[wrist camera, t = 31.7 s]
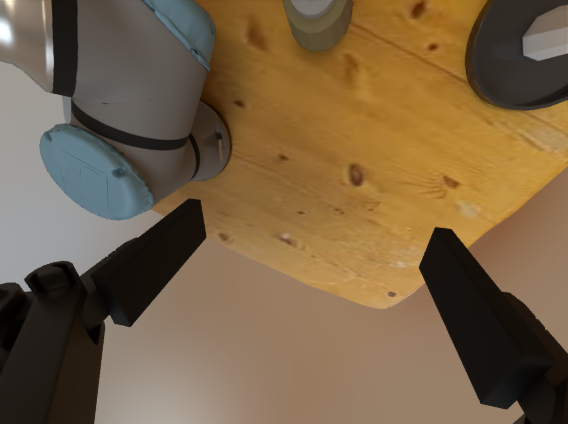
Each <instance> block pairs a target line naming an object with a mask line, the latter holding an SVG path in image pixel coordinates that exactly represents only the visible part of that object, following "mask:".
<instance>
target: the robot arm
mask: <svg viewBox="0 0 568 424" xmlns="http://www.w3.org/2000/svg"><path fill="white" fill-rule="evenodd" d="M215 39H216V30H215V25H214V23H213V20H212V19H211V17H210V15H209V14H208V13H207V12H206V11H205V10H204V9H203V8H202V7H201V6H200V5H199V4H198V3H196V2H195V1H194V0H0V61H1V62H5V63H9V64H13V65H14V66H16V67H18V68H19V69H21V70H22V71H23V72H25V73H26V74H27V75H28V76H29V77H30V78H31V79H32V80H33V81H35V82H36V83H37V84H38V85H39V86H40V87H41V88H42V89H43V90H45V91H46V92H49V93H53V94H58V95H63V96H67V97H71V123H70V124H58V125H56V126H54V128H52V129H50V130H49V131H46V132H45V133H44V134H43V136H42V137H41V140H40V153H41V157H42V160H43V163H44V165H45V167H46V169H47V171H48V172H49V174H50V176H51V177H52V179H53V180H54V181H55V182H56V184H57V185H58V186H59V187H60V188H61V189H62V190H63V191H64V193H65V194H66V195H67V196H69V197H70V198H71V199H72V200H73V201H74V202H76V203H77V204H78V205H80V206H81V207H83V208H84V209H86V210H88V211H89V212H91V213H93V214H95V215H98V216H100V217H103V218H106V219H111V220H123V219H124V220H125V219H130V218H133V217H134V216H137V215H139V214H141V213H143V212H145V211H148V210H150V209H151V208H152V207H153V206H154V205H155V204H156V203H158V202H159V201H161V200H162V199H164V198H165V197H167V196H168V195H170V194H171V193H173V192H174V191H176V190H177V189H179V188H180V187H182V186H183V185H185V184H186V183H188V182H190V181H203V180H207V179H210V178H213V177H214V176H216V175H217V174H219V173H220V172H221V171H222V170H223V169H224V168H225V167H226V165H227V164H228V162H229V159H230V156H231V150H232V144H231V137H230V133H229V130H228V127H227V125H226V123H225V121H224V120H223V118H222V117H221V115H220V114H219V113H218V112H217V111H216V110H215V109H214V108H213V107H212V106H211V105H209V104H208V103H206V102H205V101H203V100H201V99H200V97H201V94H202V90H203V87H204V84H205V80H206V77H207V73H208V71H209V72H210V69H211V68H210V60H211V56H212V52H213V47H214V43H215ZM205 239H206V231H205V224H204V218H203V212H202V206H201V200H198V199H188V200H186V201H185V202H184V203H182V204H181V205H180V206H178V207H177V208H176V209H175V210H173V211H172V212H171V213H169V214H168V215H167V216H166V217H164V218H163V219H162V220H160V221H159V222H158V223H157V224H155V225H154V226H153V227H151V228H150V229H149V230H147V231H146V232H145V233H144V234H142V235H141V236H140V237H138V238H134V239H132V240H130V241H127V242H125V243H124V244H123V245H121V246H120V247H118V248H117V249H116V251H113V252H112V253H110V254H109V255H108V257H105V258H104V259H102V260H101V261H100V262H98V263H97V264H96V265H95V266H93V267H92V268H90V269H89V270H88V271H87V272H85V273H84V274H82V275H81V276H80V277H79V275H78V273H77V271H76V269H75V268H74V266H73V264H72V263H71V262H68V261H59V262H53V263H50V264H47V265H44V266H42V267H40V268H38V269H36V270H34V271H33V272H31V273H30V274H28V276H27V277H26V278H25V279H24V280H25V282H26V283H27V285H28V286H29V288H30V289H31V292H24V291H23V289H22V288H21V287H20V285H19V284H17V283H4V284H0V424H94V420H95V412H96V403H97V394H98V385H99V377H100V369H101V360H102V351H103V343H104V333H105V323H104V320H105V319H106V318H107V316H108V315H110V316H111V318H112V320H113V322H114V324H118V325H123V326H127V327H131V326H132V325H133V323H134V322H135V321H136V320H137V319H138V318H139V316H140V315H141V314H142V313H143V312H144V311H145V309H146V308H147V307H148V306H149V305H150V303H151V302H152V301H153V300H154V299H155V298H156V296H157V295H158V294H159V293H160V292H161V290H162V289H163V288H164V287H165V286H166V285H167V283H168V282H169V281H170V280H171V278H173V276H174V275H175V274H176V273H177V272H178V270H179V269H180V268H181V267H182V266H183V265H184V263H185V262H186V261H187V260H188V259H189V257H190V256H191V255H192V254H193V253H194V252H195V250H196V249H197V248H198V247H199V246H200V244H201V243H202V242H203V241H204V240H205ZM419 269H420V271H421V274H422V276H423V278H424V280H425V282H426V285H427V287H428V289H429V291H430V293H431V295H432V298H433V300H434V302H435V304H436V307H437V309H438V311H439V313H440V315H441V317H442V320H443V322H444V324H445V326H446V329H447V331H448V333H449V335H450V337H451V339H452V342H453V344H454V346H455V348H456V350H457V352H458V355H459V357H460V359H461V361H462V364H463V366H464V368H465V370H466V372H467V375H468V377H469V379H470V381H471V383H472V385H473V388H474V390H475V392H476V394H477V397H478V399H479V401H480V403H481V404H484V405H489V406H493V407H498V408H502V409H508V408H509V407H510V406H511V405H512V404H513V403H514V402H516V401H518V403H519V405H520V406H521V408H522V410H523V411H524V414H523V415H522V416H521V417H520V418H519V419H518V420H516V421H515V422H514V423H513V424H568V353H567V352H566V351H565V350H564V349H563V348H562V347H561V345H560V344H559V343H558V342H557V341H556V340H555V339H554V337H553V336H552V335H551V334H550V333H549V332H548V330H545V327H544V326H543V325H542V323H541V322H540V321H539V320H538V319H536V317H535V315H534V314H533V313H532V312H531V311H530V309H529V308H528V307H527V306H526V305H525V304H524V303H523V302H521V301H520V300H519V299H517V298H516V297H515V296H513V295H512V294H511V293H508V292H501V290H500V289H499V288H498V287H497V285H496V284H495V283H494V282H493V280H492V279H491V278H490V277H489V275H488V274H487V273H486V272H485V270H484V269H483V268H482V267H481V265H480V264H479V263H478V262H477V260H476V259H475V258H474V257H473V256H472V254H471V253H470V252H469V251H468V249H467V248H466V247H465V245H464V244H463V243H462V242H461V241H460V239H459V238H458V237H457V236H456V234H455V233H454V232H453V231H452V229H447V228H438V227H435V229H434V231H433V234H432V236H431V239H430V241H429V243H428V246H427V248H426V251H425V253H424V256H423V258H422V261H421V263H420V266H419Z"/></svg>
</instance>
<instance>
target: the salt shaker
mask: <svg viewBox="0 0 568 424" xmlns="http://www.w3.org/2000/svg"><path fill="white" fill-rule="evenodd" d="M522 41H523V55H524V56H527V57H530V58H532V59H535V60H537V61H540V60H544V59H548V58H551V57H555V56H559V55H563V54H567V53H568V5H565V6H560V7H557V8H555V9H553V10H551V11H549V12H547V13H545V14H543V15H540V16H538V17H536V19H535V20H534V22H533V23H532V24H531V26H530V27H529V29H528V30H527V32H526V33H525V34H524V36H523V37H522Z"/></svg>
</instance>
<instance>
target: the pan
mask: <svg viewBox="0 0 568 424" xmlns="http://www.w3.org/2000/svg"><path fill="white" fill-rule="evenodd" d="M565 5H568V0H488V2H487V3H486V5H485V6H484V8H483V9H482V11H481V12H480V14H479V16H478V18H477V20H476V22H475V24H474V27H473V29H472V32H471V34H470V37H469V41H468V44H467V50H466V61H465V65H466V73H467V77H468V81H469V83H470V85H471V87H472V89H473V90H474V92H475V93H476V94H477V95H478V96H479V97H480V98H481V99H483V100H484V101H485V102H487V103H489V104H491V105H493V106H497V107H500V108H503V109H510V110H534V109H540V108H545V107H550V106H553V105H555V104H558V103H560V102H563V101H566V100H568V53H567V54H563V55H559V56H555V57H551V58H548V59H544V60H540V61H537V60H535V59H532V58H530V57H527V56H524V55H523V41H522V37H523V36H524V34H525V33H526V32H527V30H528V29H529V27H530V26H531V24H532V23H533V22H534V20H535V19H536V17H538V16H540V15H543V14H545V13H547V12H549V11H551V10H553V9H555V8H557V7H560V6H565Z"/></svg>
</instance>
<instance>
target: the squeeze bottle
mask: <svg viewBox="0 0 568 424" xmlns="http://www.w3.org/2000/svg"><path fill="white" fill-rule="evenodd" d="M283 4H284V7H285V11H286V14H287V17H288V21H289V24H290V27H291V30H292V33H293V36H294V38H295V39H296V40H297V41H298V43H299V44H300V45H301V46H302V47H304V48H306V49H308V50H310V51H325V50H327V49H329V48H330V47H332V46H334V45H336V44H337V42H338V41H339V40H340V39H341V38H342V37H343V36H344V35H345V32H346V30H347V28H348V26H349V23H350V21H351V15H352V6H353V2H352V0H283Z"/></svg>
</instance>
